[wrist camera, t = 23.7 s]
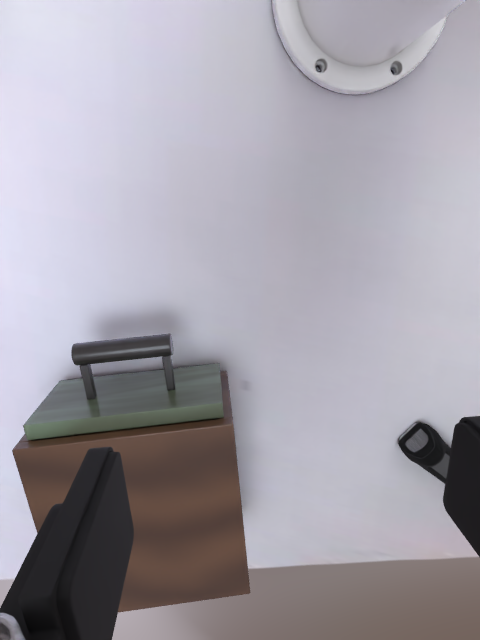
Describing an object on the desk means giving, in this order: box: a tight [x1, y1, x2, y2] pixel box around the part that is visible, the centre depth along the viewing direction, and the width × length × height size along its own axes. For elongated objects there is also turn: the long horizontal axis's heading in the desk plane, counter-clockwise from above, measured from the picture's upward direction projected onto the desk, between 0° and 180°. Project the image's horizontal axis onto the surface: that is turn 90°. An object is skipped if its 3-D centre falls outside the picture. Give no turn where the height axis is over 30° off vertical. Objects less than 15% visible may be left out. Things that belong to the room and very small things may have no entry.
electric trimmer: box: [398, 422, 451, 484], centre depth 39 cm, size 4×16×3 cm, turn 49°
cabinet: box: [12, 371, 250, 612], centre depth 32 cm, size 16×15×9 cm
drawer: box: [23, 334, 224, 440], centre depth 31 cm, size 19×14×7 cm
